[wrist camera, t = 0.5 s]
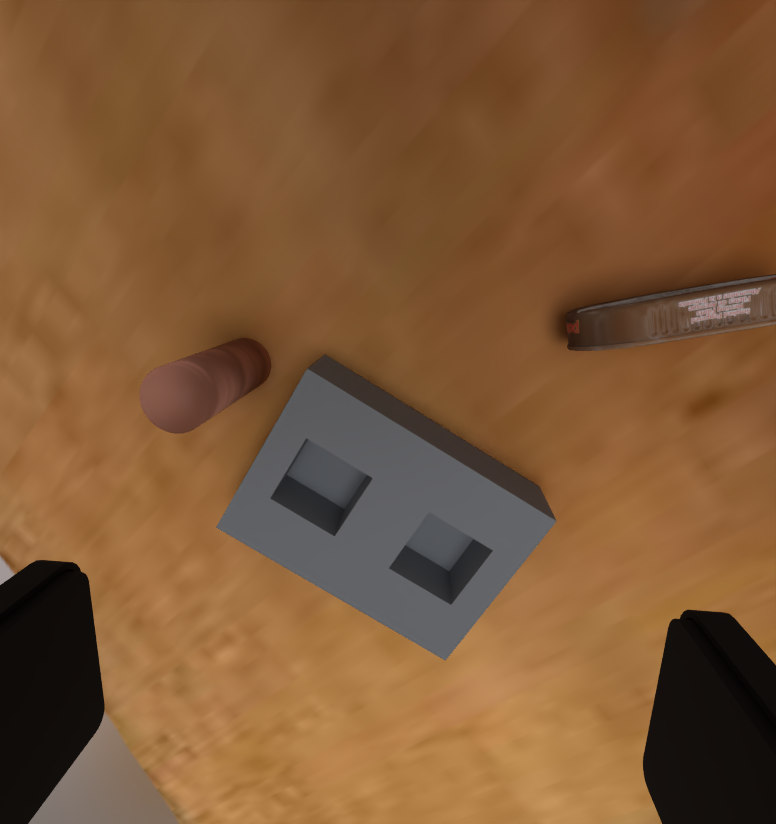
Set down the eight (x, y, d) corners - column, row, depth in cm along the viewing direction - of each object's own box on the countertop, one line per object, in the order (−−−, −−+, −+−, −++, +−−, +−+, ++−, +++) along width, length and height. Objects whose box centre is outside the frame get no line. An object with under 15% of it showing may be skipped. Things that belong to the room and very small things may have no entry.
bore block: (244, 493, 44) (216, 527, 39) (325, 354, 41) (307, 368, 35) (443, 611, 46) (445, 660, 40) (539, 486, 42) (556, 521, 36)
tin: (555, 345, 39) (587, 365, 31) (551, 303, 38) (582, 311, 30) (771, 310, 37) (866, 321, 29) (771, 265, 37) (868, 263, 28)
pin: (212, 371, 42) (128, 410, 30) (235, 328, 41) (156, 351, 29) (256, 397, 42) (189, 446, 31) (279, 355, 41) (219, 389, 29)
